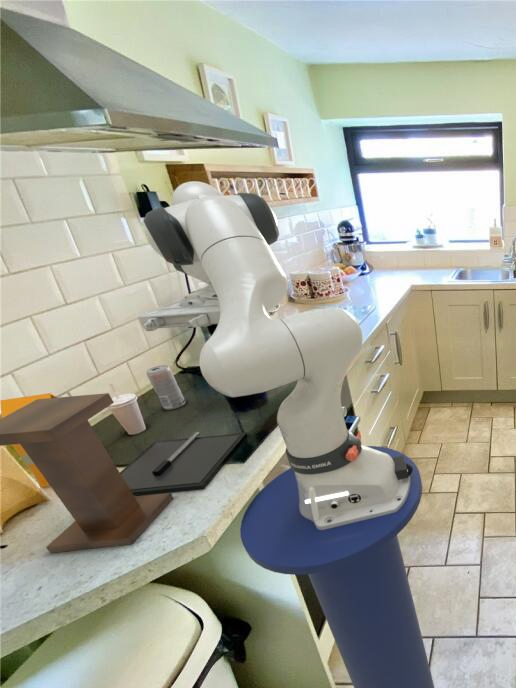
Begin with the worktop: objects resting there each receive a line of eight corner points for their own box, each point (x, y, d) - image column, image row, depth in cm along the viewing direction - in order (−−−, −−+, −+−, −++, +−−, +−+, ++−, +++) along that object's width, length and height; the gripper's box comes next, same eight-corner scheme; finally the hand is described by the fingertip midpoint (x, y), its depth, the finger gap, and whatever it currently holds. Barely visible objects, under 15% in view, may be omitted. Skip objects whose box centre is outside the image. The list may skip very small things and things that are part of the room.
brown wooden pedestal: (173, 498, 86) (114, 392, 75) (132, 544, 76) (56, 429, 64) (102, 505, 85) (31, 399, 74) (50, 553, 75) (-42, 438, 63)
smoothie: (145, 422, 115) (120, 376, 109) (157, 427, 112) (132, 381, 106) (117, 434, 110) (89, 387, 104) (129, 439, 107) (101, 392, 101)
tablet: (247, 436, 106) (246, 432, 106) (204, 489, 88) (202, 485, 88) (157, 444, 105) (155, 440, 104) (94, 500, 87) (91, 496, 86)
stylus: (201, 434, 106) (199, 430, 105) (160, 475, 92) (158, 471, 91) (195, 435, 106) (193, 431, 105) (154, 476, 91) (151, 471, 91)
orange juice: (64, 466, 98) (13, 392, 89) (108, 458, 100) (63, 385, 91) (41, 487, 92) (-16, 409, 82) (89, 478, 94) (38, 401, 84)
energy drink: (179, 399, 126) (162, 363, 120) (190, 403, 124) (172, 366, 118) (160, 408, 122) (141, 371, 116) (170, 411, 120) (151, 374, 114)
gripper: (155, 300, 109) (116, 317, 97) (236, 294, 110) (207, 310, 98) (165, 323, 112) (128, 342, 100) (244, 317, 113) (217, 335, 101)
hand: (168, 326), depth 99 cm, fingers open, 8 cm apart
